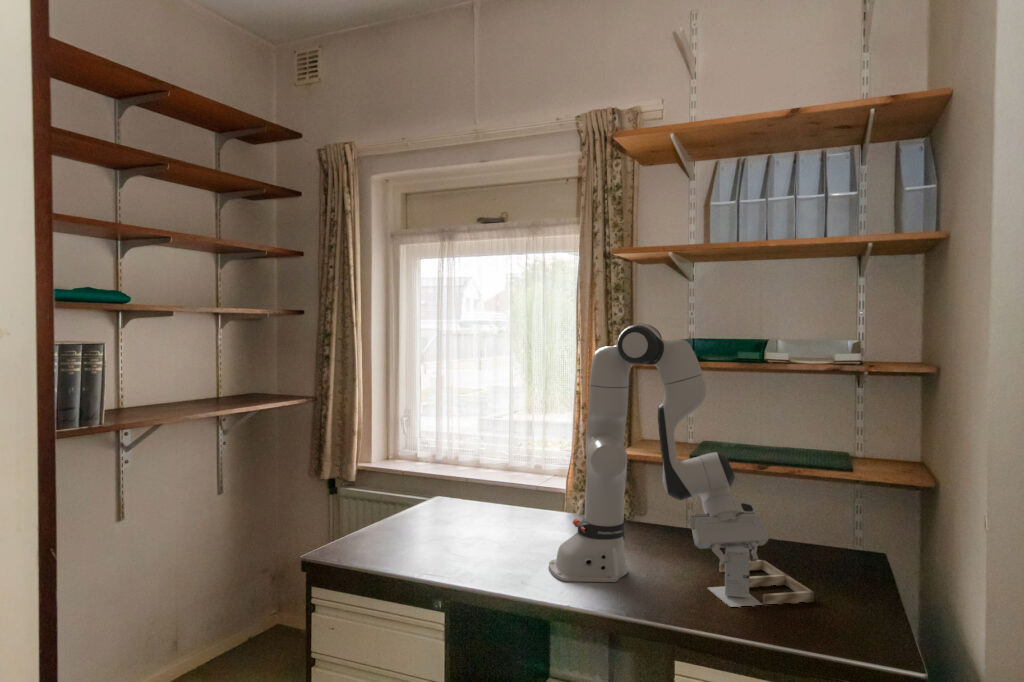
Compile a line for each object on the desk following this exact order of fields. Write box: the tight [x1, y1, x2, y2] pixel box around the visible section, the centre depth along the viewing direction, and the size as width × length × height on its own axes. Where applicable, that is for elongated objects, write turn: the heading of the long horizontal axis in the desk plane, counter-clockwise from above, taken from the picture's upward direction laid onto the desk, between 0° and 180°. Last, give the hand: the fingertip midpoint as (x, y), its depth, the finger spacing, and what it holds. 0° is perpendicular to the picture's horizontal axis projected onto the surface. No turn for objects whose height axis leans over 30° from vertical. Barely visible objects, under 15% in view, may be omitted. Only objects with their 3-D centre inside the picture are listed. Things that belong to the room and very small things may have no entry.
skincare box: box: [724, 545, 751, 598], centre depth 174 cm, size 6×4×12 cm
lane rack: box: [718, 559, 815, 605], centre depth 182 cm, size 14×23×2 cm, turn 12°
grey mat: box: [706, 585, 764, 608], centre depth 174 cm, size 9×12×1 cm
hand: (740, 561), depth 172 cm, fingers closed on skincare box, 7 cm apart
